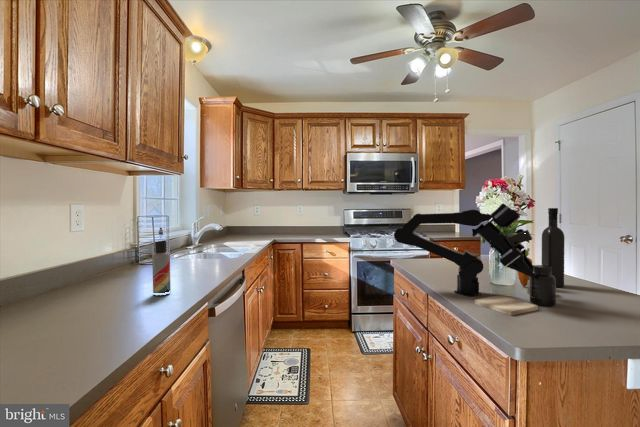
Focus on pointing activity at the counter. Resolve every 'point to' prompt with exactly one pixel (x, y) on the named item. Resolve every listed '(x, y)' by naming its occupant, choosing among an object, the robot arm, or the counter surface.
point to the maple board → (506, 305)
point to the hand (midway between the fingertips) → (534, 273)
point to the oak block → (528, 287)
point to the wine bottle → (554, 248)
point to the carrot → (524, 277)
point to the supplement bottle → (542, 286)
